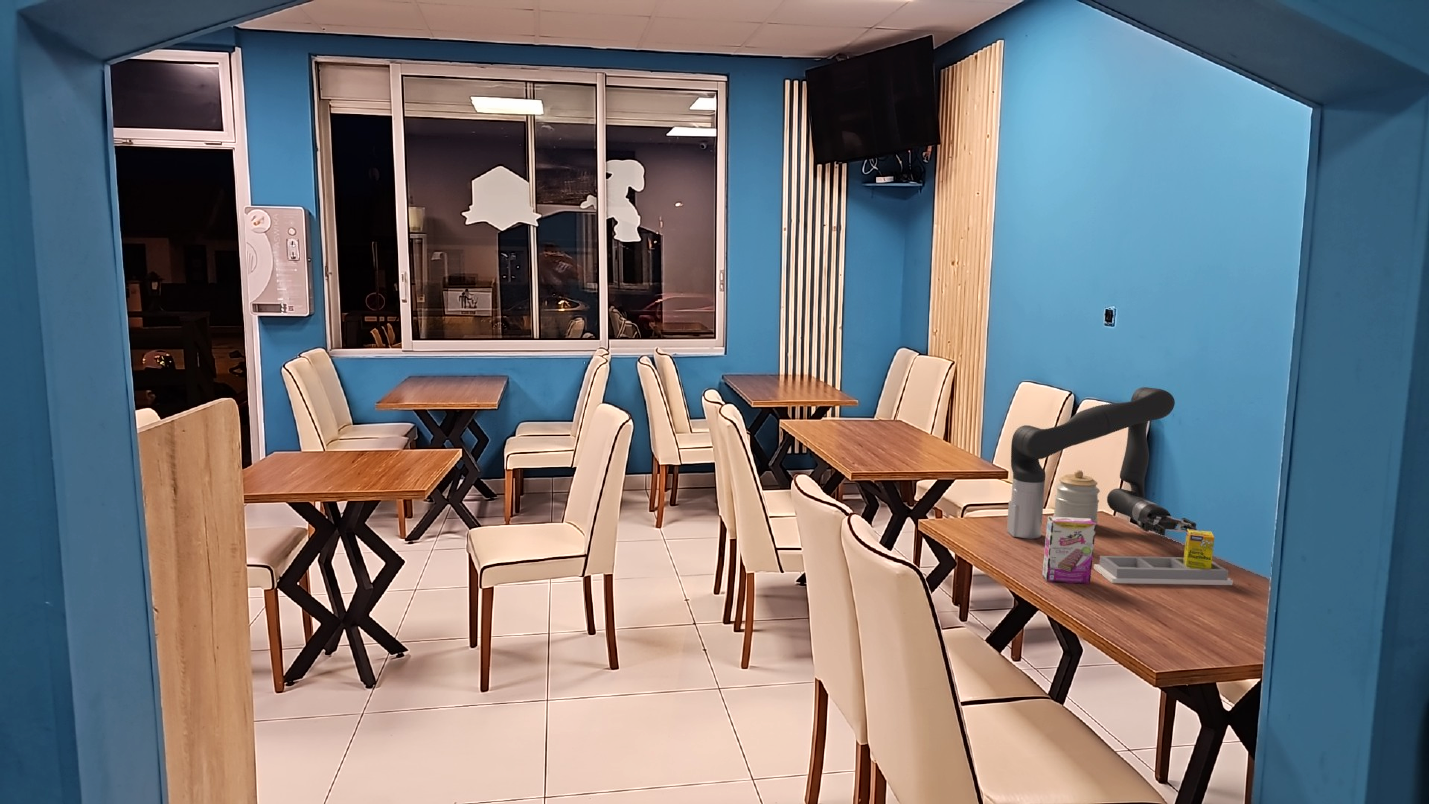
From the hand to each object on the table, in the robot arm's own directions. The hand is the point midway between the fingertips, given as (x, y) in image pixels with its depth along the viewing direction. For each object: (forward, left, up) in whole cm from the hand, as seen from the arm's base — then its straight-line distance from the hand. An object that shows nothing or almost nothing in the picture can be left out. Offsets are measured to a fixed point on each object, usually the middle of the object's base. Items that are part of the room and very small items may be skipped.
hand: (1179, 532), depth 245 cm
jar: (-13, +38, -9) cm, 41 cm away
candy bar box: (-36, -14, -9) cm, 40 cm away
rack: (-9, -10, -9) cm, 16 cm away
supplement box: (0, -10, -8) cm, 13 cm away
